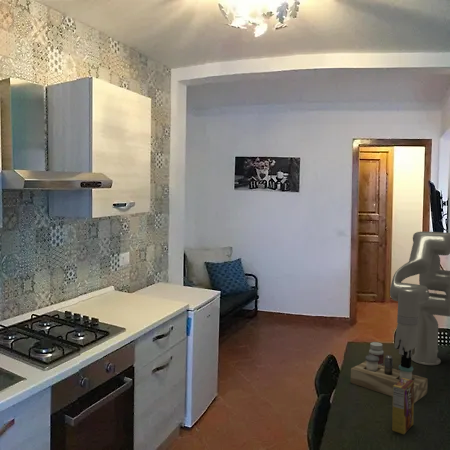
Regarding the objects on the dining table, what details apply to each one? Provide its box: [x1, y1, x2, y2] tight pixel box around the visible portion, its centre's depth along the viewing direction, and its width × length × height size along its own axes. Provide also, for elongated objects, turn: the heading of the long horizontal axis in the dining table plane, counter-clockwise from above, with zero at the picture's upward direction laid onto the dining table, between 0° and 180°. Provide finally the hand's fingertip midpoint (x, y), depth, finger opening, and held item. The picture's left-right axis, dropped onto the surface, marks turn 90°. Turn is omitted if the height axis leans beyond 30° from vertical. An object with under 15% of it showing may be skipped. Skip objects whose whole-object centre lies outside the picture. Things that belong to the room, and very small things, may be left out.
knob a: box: [365, 354, 379, 372], centre depth 194 cm, size 5×5×8 cm
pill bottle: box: [368, 341, 385, 366], centre depth 209 cm, size 6×6×11 cm
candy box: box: [391, 378, 415, 435], centre depth 158 cm, size 9×4×15 cm, turn 140°
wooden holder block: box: [350, 360, 428, 404], centre depth 190 cm, size 12×26×6 cm, turn 45°
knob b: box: [398, 364, 414, 380], centre depth 184 cm, size 5×5×8 cm
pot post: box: [384, 354, 394, 375], centre depth 189 cm, size 3×3×7 cm
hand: (405, 366), depth 184 cm, fingers closed
